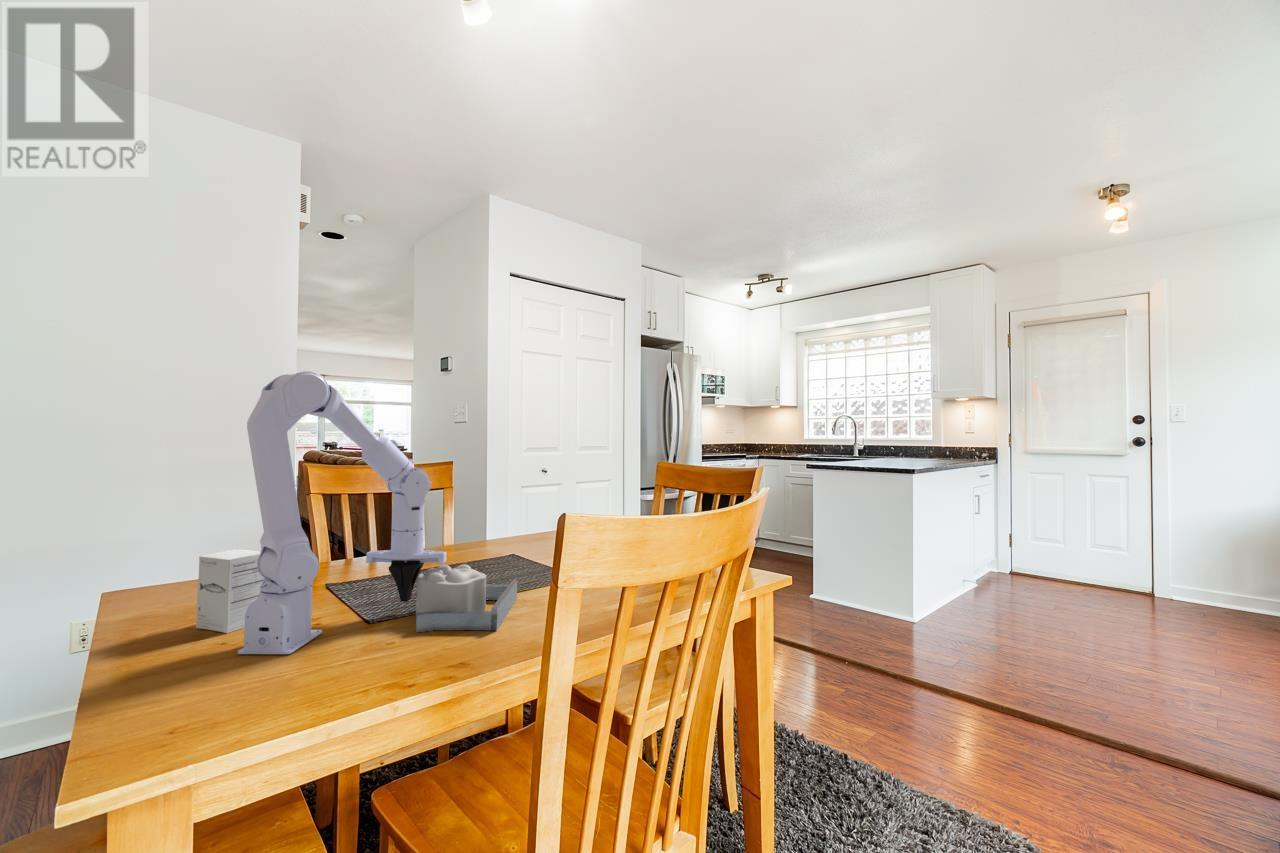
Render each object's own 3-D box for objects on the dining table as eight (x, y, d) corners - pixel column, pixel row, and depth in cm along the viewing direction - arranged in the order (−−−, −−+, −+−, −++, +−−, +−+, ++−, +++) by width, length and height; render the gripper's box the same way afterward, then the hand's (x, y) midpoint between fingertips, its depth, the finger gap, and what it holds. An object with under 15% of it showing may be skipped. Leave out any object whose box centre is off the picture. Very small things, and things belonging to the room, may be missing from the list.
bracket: (495, 633, 94) (495, 610, 94) (412, 633, 93) (413, 609, 93) (517, 597, 115) (518, 578, 115) (451, 596, 114) (451, 577, 114)
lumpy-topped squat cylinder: (454, 627, 96) (456, 578, 96) (401, 616, 101) (402, 570, 102) (492, 610, 106) (493, 566, 106) (441, 601, 111) (442, 559, 111)
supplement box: (194, 629, 93) (197, 555, 93) (237, 616, 100) (240, 547, 100) (225, 634, 91) (228, 559, 91) (267, 620, 98) (270, 550, 98)
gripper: (452, 526, 108) (450, 594, 108) (378, 525, 107) (376, 593, 107) (440, 532, 101) (438, 605, 101) (361, 531, 100) (359, 604, 100)
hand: (405, 600), depth 103 cm, fingers closed
